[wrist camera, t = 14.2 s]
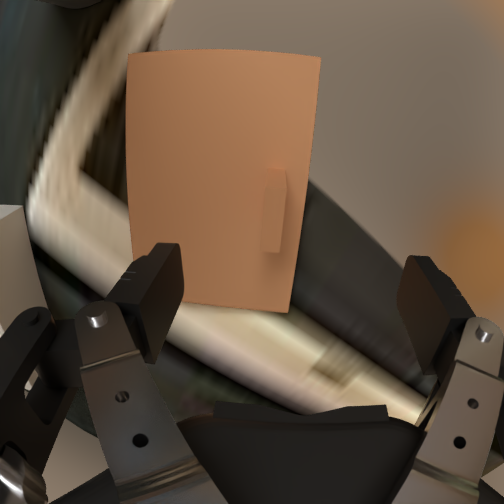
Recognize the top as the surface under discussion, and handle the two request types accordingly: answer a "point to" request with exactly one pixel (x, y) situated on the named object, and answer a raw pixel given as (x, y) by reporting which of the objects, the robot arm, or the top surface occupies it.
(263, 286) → the snap lid
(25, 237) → the parts tub
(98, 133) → the top surface
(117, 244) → the top surface
